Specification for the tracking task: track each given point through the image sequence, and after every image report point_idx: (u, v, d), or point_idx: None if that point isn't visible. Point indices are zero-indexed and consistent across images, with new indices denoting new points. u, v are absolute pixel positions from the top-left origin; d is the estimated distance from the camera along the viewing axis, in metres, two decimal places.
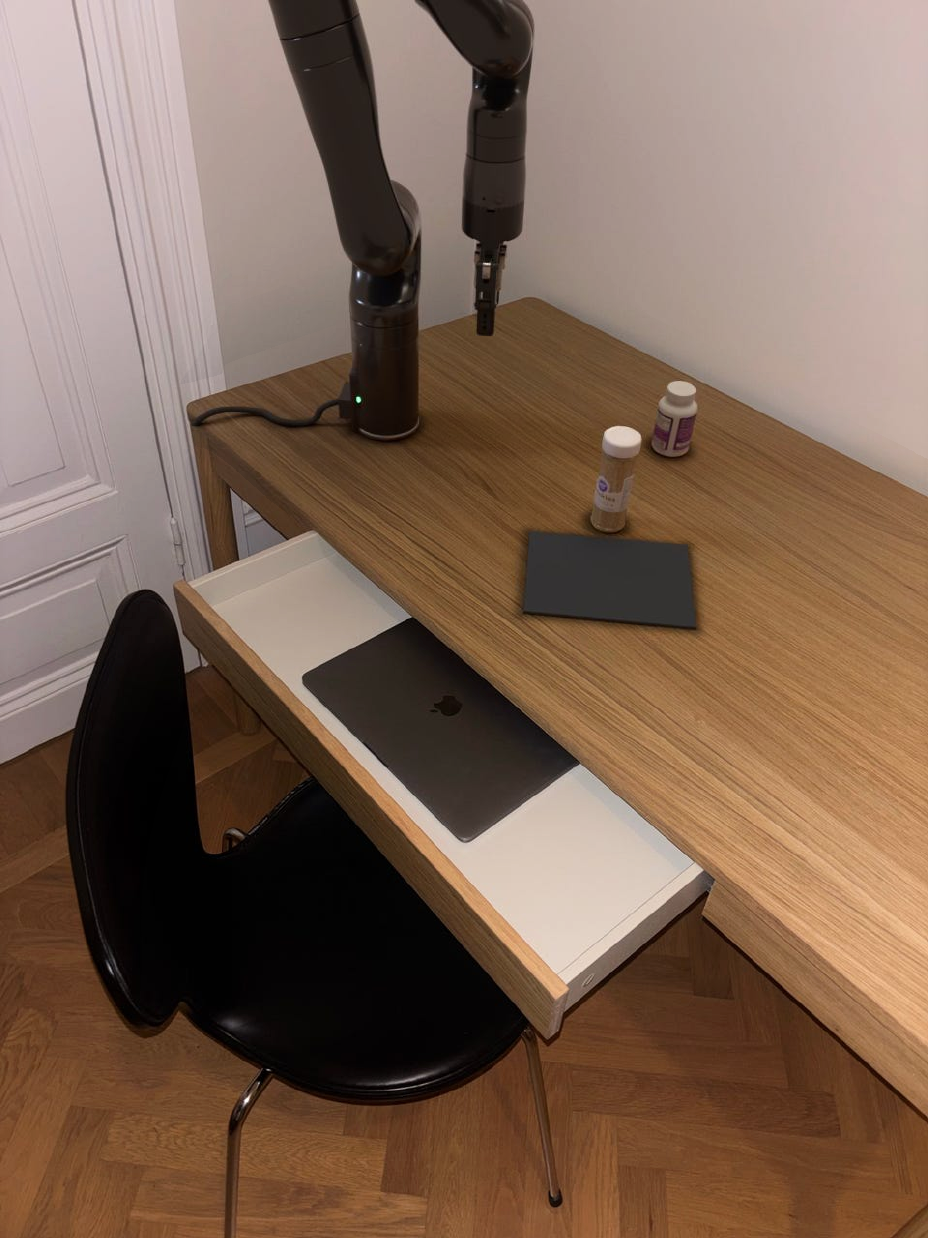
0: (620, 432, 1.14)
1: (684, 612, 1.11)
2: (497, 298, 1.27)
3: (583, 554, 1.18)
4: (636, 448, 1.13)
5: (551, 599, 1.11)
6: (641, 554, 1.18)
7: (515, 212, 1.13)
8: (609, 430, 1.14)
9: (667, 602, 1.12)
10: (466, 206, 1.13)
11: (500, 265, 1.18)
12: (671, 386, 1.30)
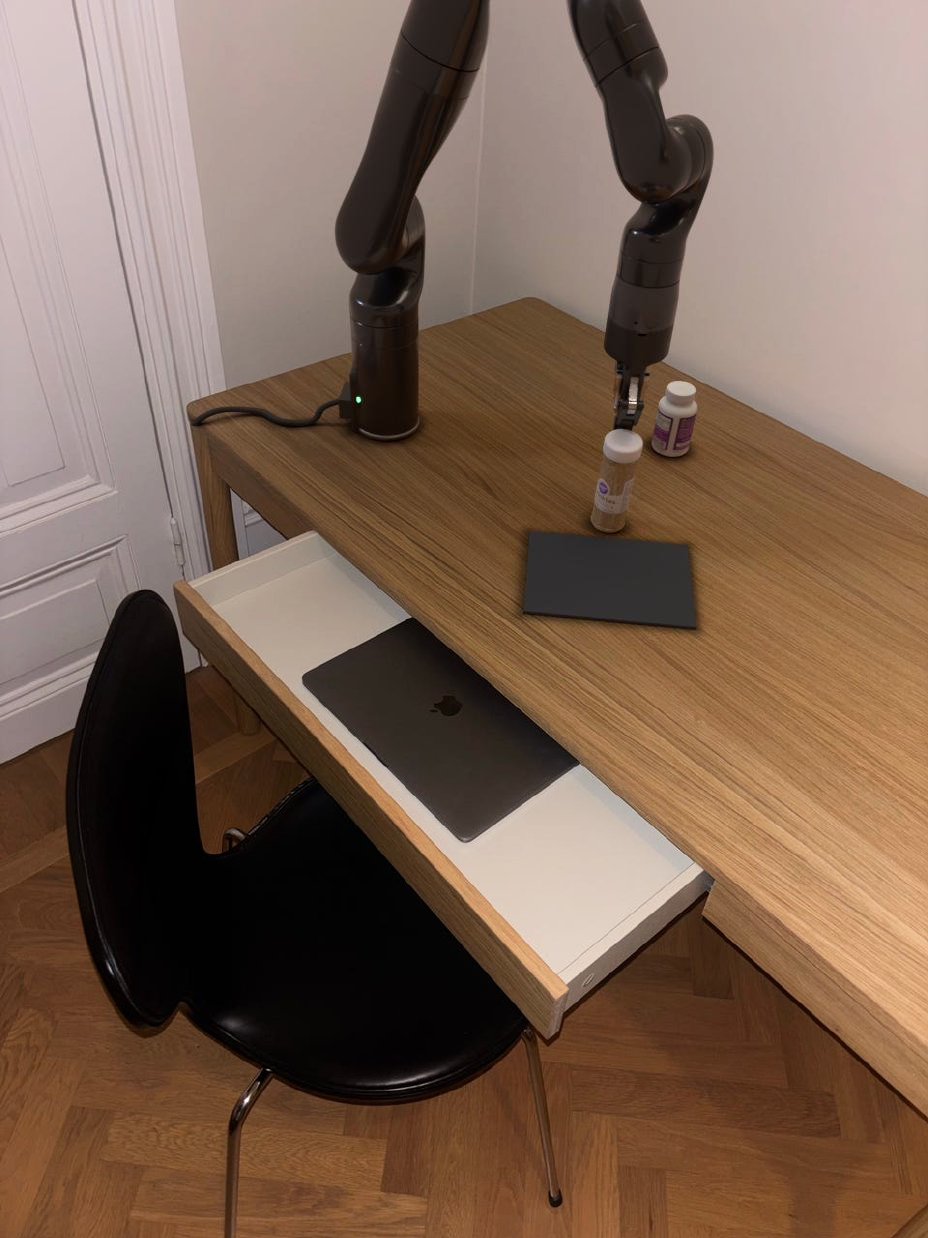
0: (621, 436, 1.13)
1: (684, 612, 1.11)
2: None
3: (583, 554, 1.18)
4: (637, 453, 1.12)
5: (551, 599, 1.11)
6: (641, 554, 1.18)
7: (666, 335, 1.06)
8: (610, 433, 1.13)
9: (667, 602, 1.12)
10: (613, 328, 1.06)
11: (643, 388, 1.11)
12: (671, 386, 1.30)
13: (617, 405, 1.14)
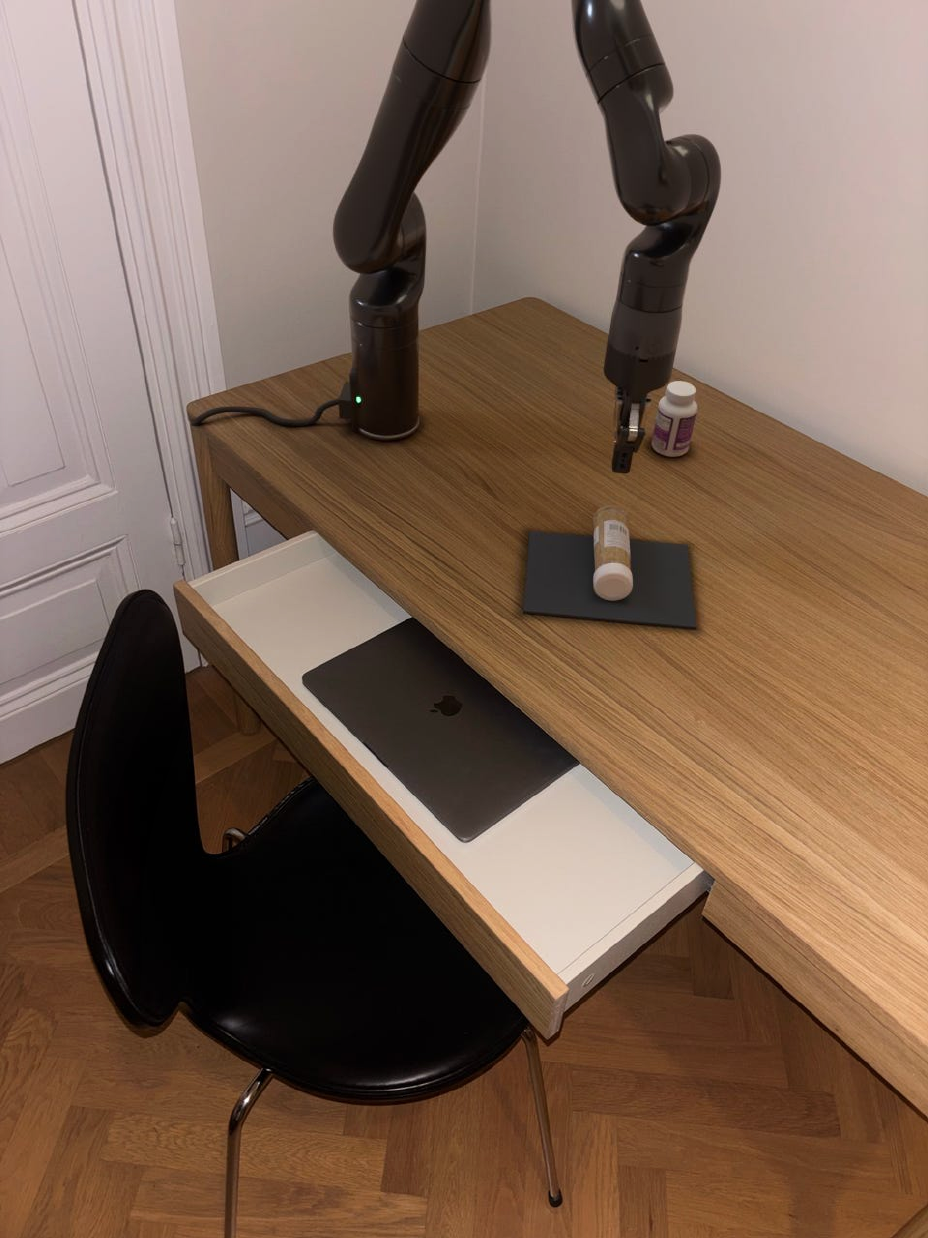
0: (611, 583, 1.10)
1: (684, 612, 1.11)
2: None
3: (583, 554, 1.18)
4: None
5: (551, 599, 1.11)
6: (641, 554, 1.18)
7: (668, 360, 1.02)
8: (600, 580, 1.09)
9: (667, 602, 1.12)
10: (614, 353, 1.02)
11: (644, 414, 1.08)
12: (671, 386, 1.30)
13: (617, 431, 1.10)
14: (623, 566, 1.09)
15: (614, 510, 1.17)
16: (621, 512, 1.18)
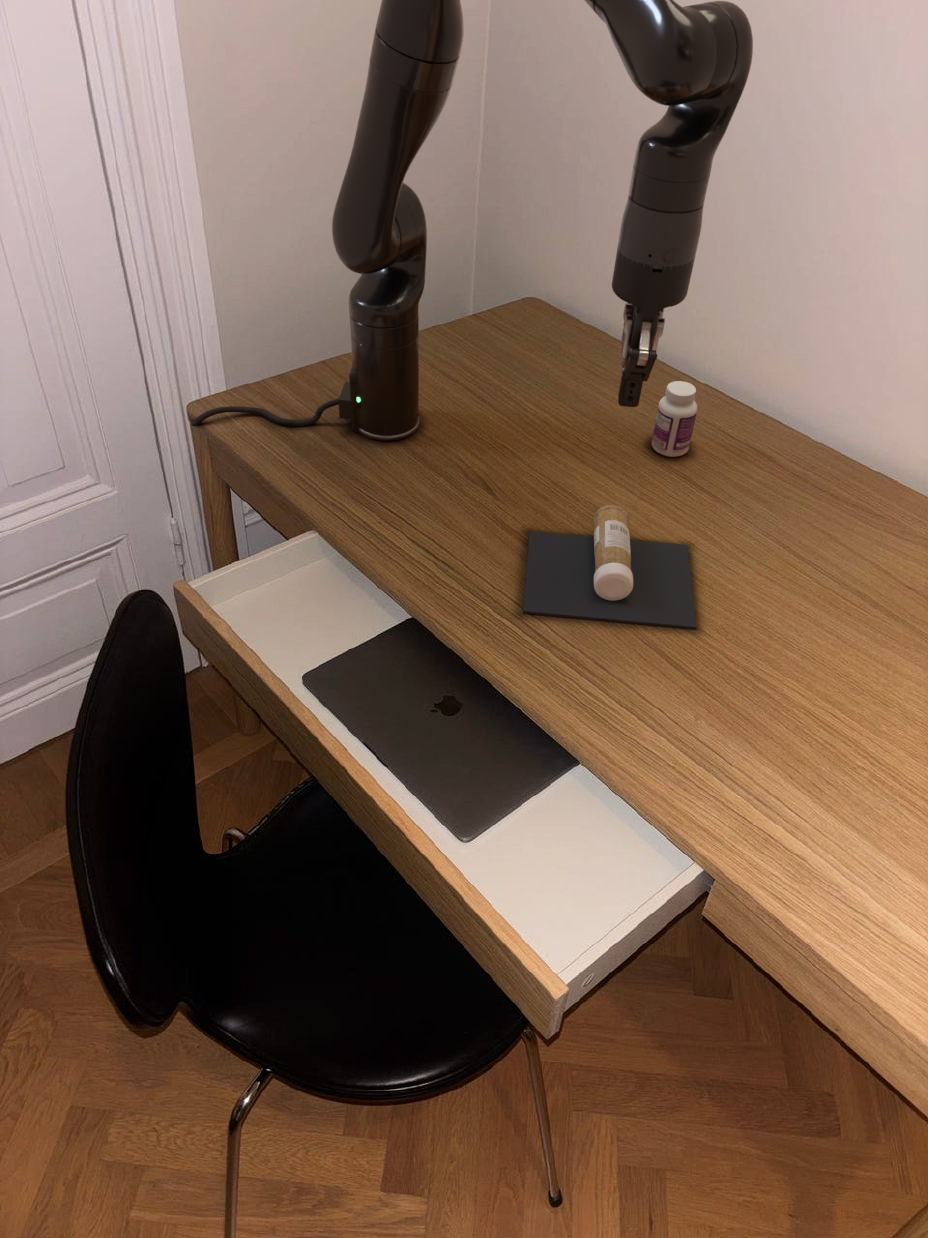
0: (611, 583, 1.09)
1: (684, 612, 1.11)
2: None
3: (583, 554, 1.18)
4: None
5: (551, 599, 1.11)
6: (641, 554, 1.18)
7: (685, 272, 0.90)
8: (600, 580, 1.09)
9: (667, 602, 1.12)
10: (624, 263, 0.91)
11: (656, 337, 0.96)
12: (671, 386, 1.30)
13: (625, 357, 0.98)
14: (624, 566, 1.09)
15: (615, 510, 1.17)
16: (622, 512, 1.18)
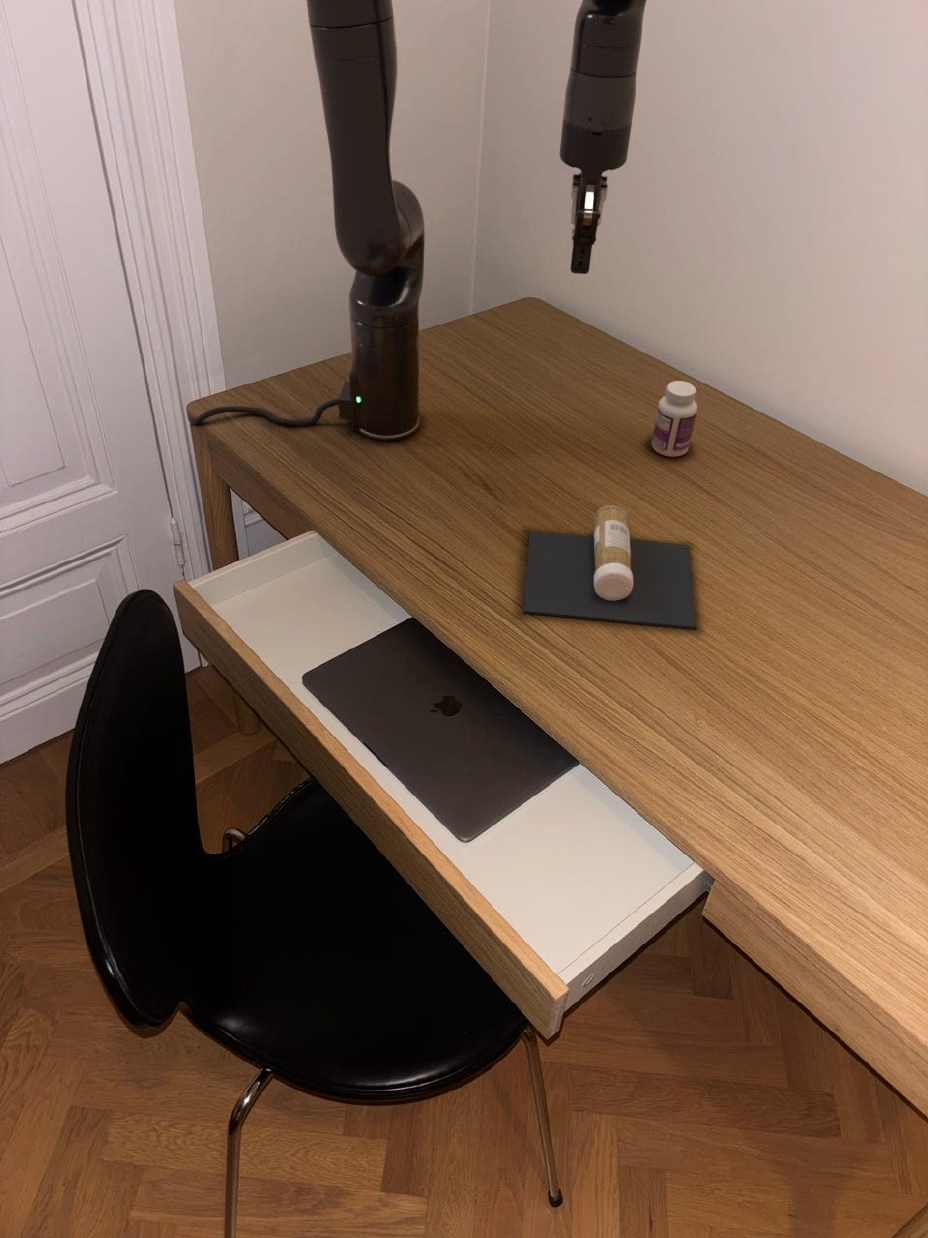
0: (611, 583, 1.09)
1: (684, 612, 1.11)
2: None
3: (583, 554, 1.18)
4: None
5: (551, 599, 1.11)
6: (641, 554, 1.18)
7: (623, 136, 1.02)
8: (600, 580, 1.09)
9: (667, 602, 1.12)
10: (568, 129, 1.02)
11: (600, 201, 1.07)
12: (671, 386, 1.30)
13: (574, 222, 1.09)
14: (624, 566, 1.09)
15: (615, 510, 1.17)
16: (622, 512, 1.18)
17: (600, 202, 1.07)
